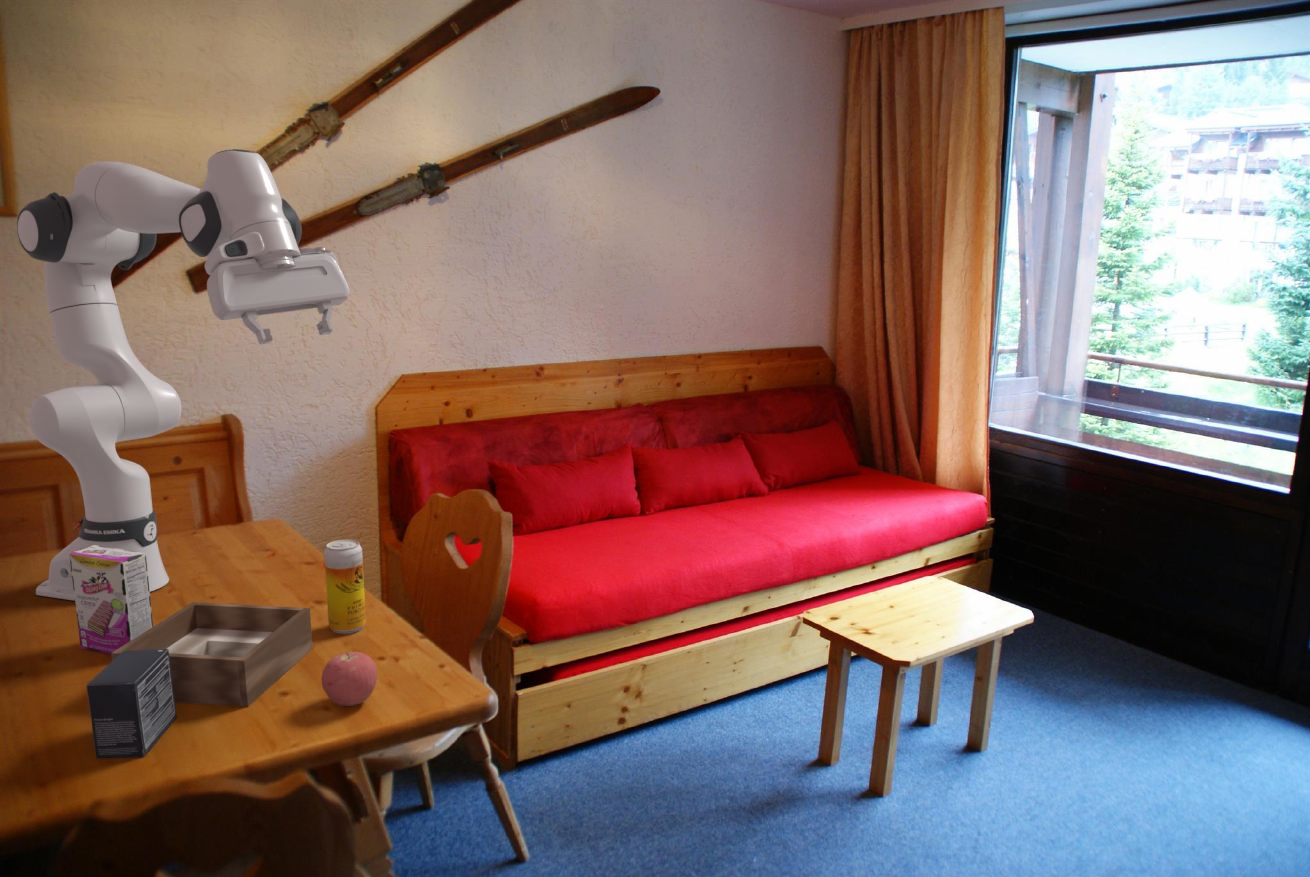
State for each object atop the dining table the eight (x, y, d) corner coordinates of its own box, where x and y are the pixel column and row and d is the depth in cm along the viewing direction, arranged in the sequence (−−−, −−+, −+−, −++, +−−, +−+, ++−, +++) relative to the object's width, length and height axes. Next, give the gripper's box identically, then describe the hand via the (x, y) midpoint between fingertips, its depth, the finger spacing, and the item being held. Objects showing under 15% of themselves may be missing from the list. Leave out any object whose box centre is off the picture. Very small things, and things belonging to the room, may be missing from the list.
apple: (356, 719, 133) (353, 665, 131) (313, 709, 135) (309, 657, 134) (388, 696, 139) (386, 644, 138) (346, 687, 142) (343, 637, 140)
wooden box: (116, 698, 138) (111, 653, 137) (196, 642, 157) (192, 602, 156) (248, 706, 136) (244, 660, 134) (312, 648, 155) (309, 608, 154)
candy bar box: (78, 650, 154) (66, 552, 151) (104, 638, 159) (94, 543, 156) (131, 660, 151) (121, 560, 147) (157, 648, 155) (147, 551, 152)
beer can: (355, 636, 160) (350, 550, 157) (322, 633, 162) (316, 548, 159) (372, 622, 166) (368, 540, 163) (340, 620, 167) (335, 537, 164)
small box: (129, 719, 132) (121, 648, 130) (178, 718, 133) (171, 647, 131) (92, 759, 122) (82, 683, 120) (145, 758, 122) (137, 681, 120)
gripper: (324, 254, 153) (352, 335, 152) (192, 266, 139) (223, 355, 138) (339, 237, 148) (368, 321, 148) (205, 248, 134) (236, 340, 134)
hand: (297, 337), depth 143 cm, fingers open, 8 cm apart
